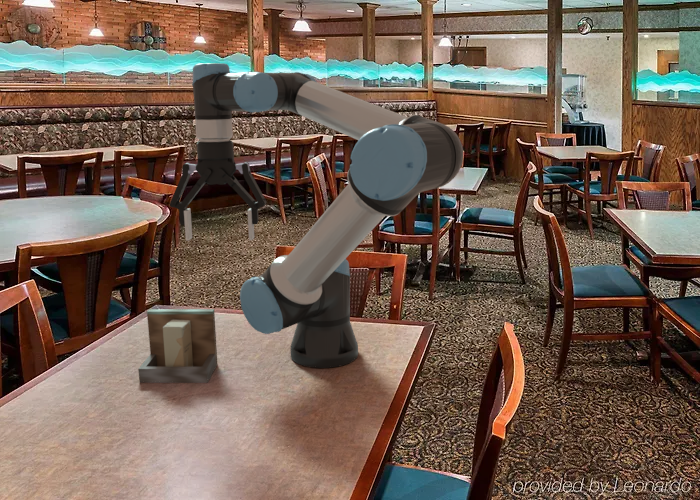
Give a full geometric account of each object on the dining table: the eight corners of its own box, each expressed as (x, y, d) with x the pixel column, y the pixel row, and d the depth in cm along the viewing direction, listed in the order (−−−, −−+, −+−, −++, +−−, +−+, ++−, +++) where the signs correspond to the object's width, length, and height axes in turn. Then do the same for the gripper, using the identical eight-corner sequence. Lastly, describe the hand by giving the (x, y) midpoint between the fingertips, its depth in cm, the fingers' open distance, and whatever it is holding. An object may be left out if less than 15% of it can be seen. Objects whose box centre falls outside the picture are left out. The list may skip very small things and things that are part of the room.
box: (185, 378, 141) (181, 327, 139) (165, 377, 142) (161, 327, 139) (194, 368, 146) (190, 319, 144) (175, 367, 147) (171, 318, 144)
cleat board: (217, 364, 148) (214, 309, 145) (207, 382, 139) (203, 324, 136) (153, 364, 148) (149, 309, 146) (139, 382, 139) (134, 324, 136)
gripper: (276, 138, 145) (280, 235, 150) (160, 139, 146) (168, 235, 151) (271, 140, 138) (275, 242, 143) (149, 141, 139) (157, 243, 144)
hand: (220, 239), depth 147 cm, fingers open, 13 cm apart
